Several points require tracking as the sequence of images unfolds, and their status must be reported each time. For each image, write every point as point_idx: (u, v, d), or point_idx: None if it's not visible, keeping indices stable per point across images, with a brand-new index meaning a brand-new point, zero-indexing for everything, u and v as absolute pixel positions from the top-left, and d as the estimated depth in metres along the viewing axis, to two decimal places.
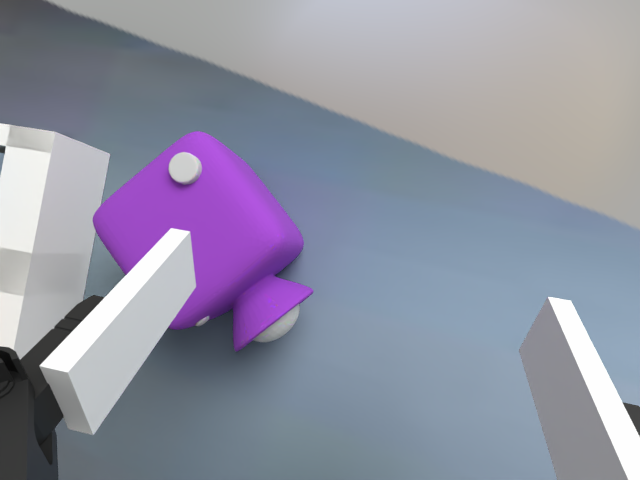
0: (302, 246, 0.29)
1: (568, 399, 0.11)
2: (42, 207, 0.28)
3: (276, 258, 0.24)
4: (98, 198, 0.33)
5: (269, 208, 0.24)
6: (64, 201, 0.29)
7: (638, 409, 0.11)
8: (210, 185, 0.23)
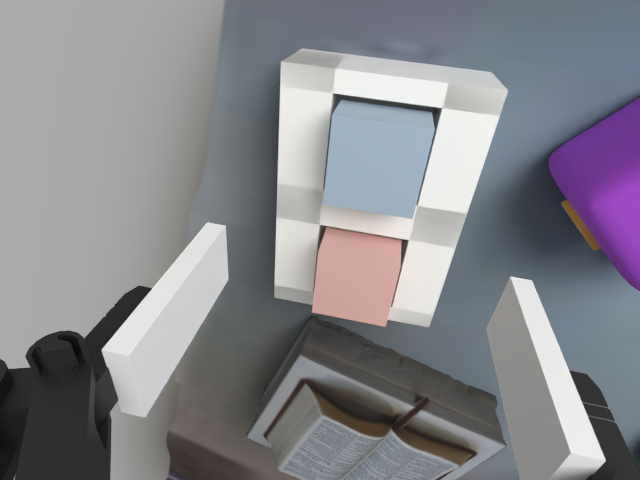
0: None
1: (522, 369, 0.12)
2: (480, 171, 0.27)
3: None
4: None
5: None
6: None
7: (586, 377, 0.12)
8: None
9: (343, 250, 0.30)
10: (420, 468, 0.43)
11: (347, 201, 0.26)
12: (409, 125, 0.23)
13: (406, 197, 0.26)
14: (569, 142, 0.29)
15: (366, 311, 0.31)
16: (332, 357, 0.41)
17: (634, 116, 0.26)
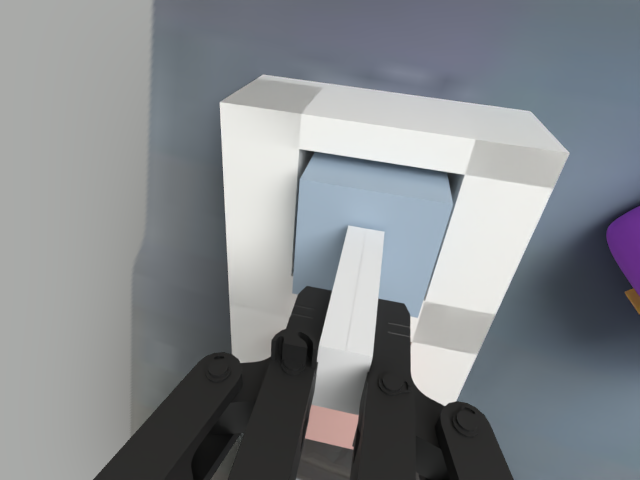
0: None
1: None
2: (518, 261, 0.18)
3: None
4: None
5: None
6: None
7: (403, 305, 0.14)
8: None
9: None
10: None
11: None
12: (414, 197, 0.15)
13: (410, 291, 0.18)
14: None
15: (352, 437, 0.23)
16: (304, 461, 0.33)
17: None
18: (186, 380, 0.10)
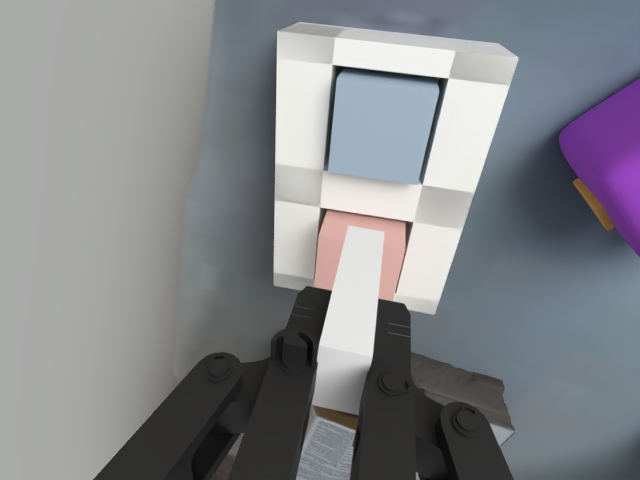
0: None
1: None
2: (489, 146, 0.26)
3: None
4: None
5: None
6: None
7: (403, 305, 0.14)
8: None
9: (345, 233, 0.28)
10: None
11: (352, 168, 0.27)
12: (414, 87, 0.23)
13: (411, 163, 0.26)
14: (581, 117, 0.28)
15: None
16: None
17: None
18: (185, 380, 0.10)
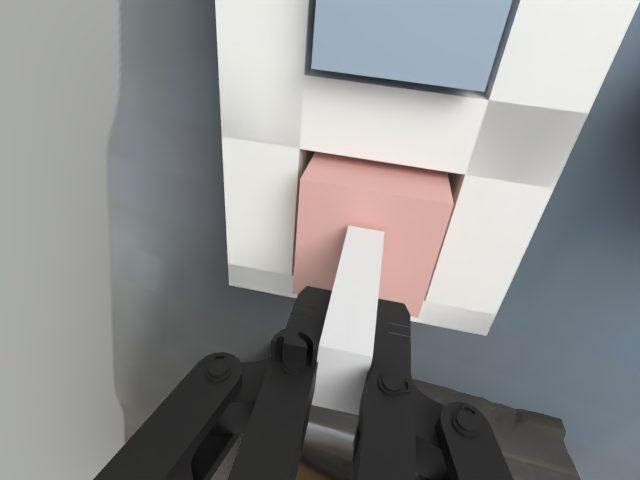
0: None
1: None
2: (634, 10, 0.13)
3: None
4: None
5: None
6: None
7: (403, 305, 0.14)
8: None
9: (346, 178, 0.16)
10: None
11: (358, 60, 0.14)
12: None
13: (477, 42, 0.13)
14: None
15: (385, 290, 0.18)
16: None
17: None
18: (185, 380, 0.10)
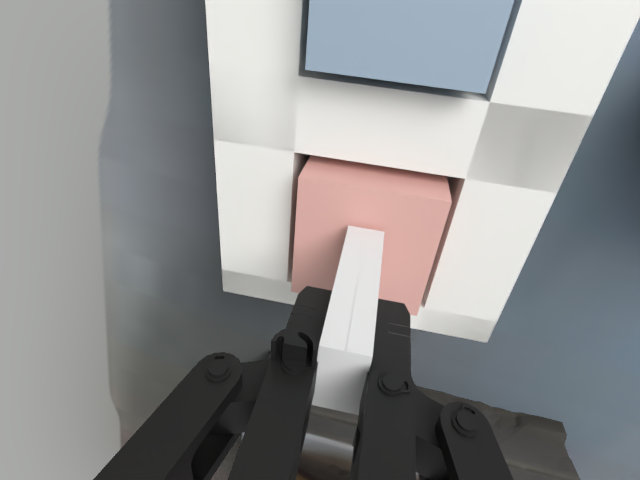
0: None
1: None
2: None
3: None
4: None
5: None
6: None
7: (403, 305, 0.14)
8: None
9: (345, 176, 0.16)
10: None
11: (354, 60, 0.13)
12: None
13: (478, 42, 0.12)
14: None
15: (384, 289, 0.18)
16: None
17: None
18: (185, 380, 0.10)
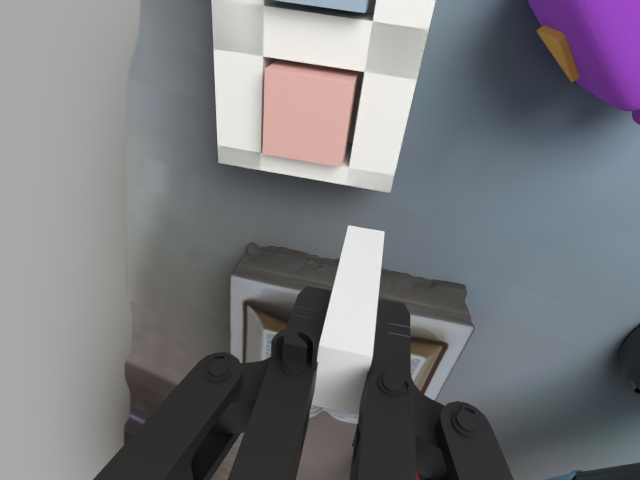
0: None
1: None
2: None
3: None
4: None
5: None
6: None
7: (403, 305, 0.14)
8: None
9: (293, 70, 0.27)
10: None
11: None
12: None
13: None
14: None
15: (320, 147, 0.29)
16: (267, 272, 0.40)
17: None
18: (185, 379, 0.10)
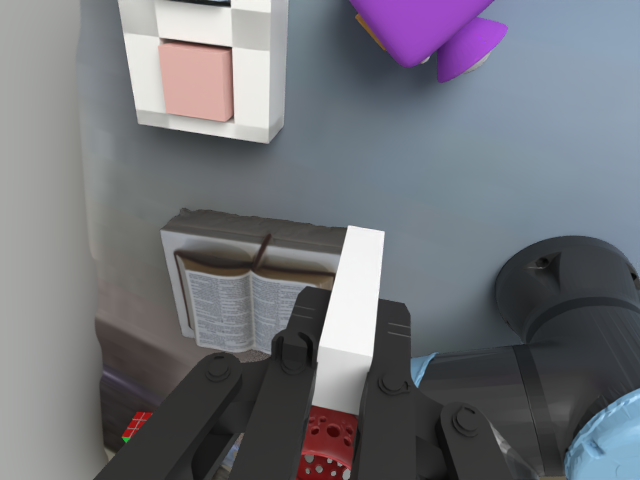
0: None
1: None
2: None
3: None
4: None
5: None
6: None
7: (403, 305, 0.14)
8: None
9: (180, 46, 0.36)
10: (292, 301, 0.48)
11: None
12: None
13: None
14: None
15: (206, 106, 0.38)
16: (190, 227, 0.49)
17: None
18: (185, 380, 0.10)
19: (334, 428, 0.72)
